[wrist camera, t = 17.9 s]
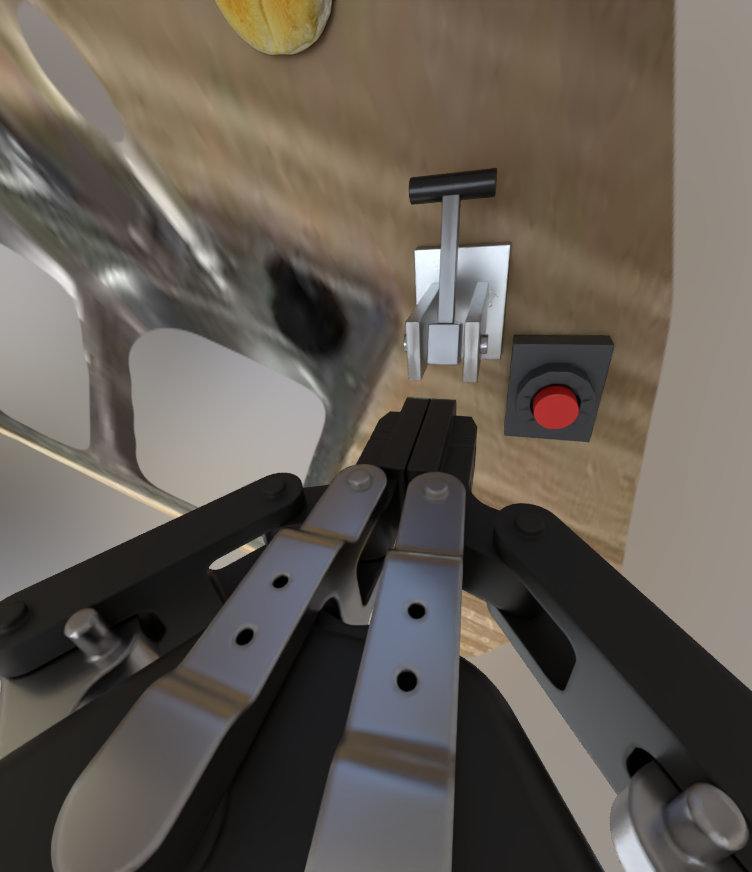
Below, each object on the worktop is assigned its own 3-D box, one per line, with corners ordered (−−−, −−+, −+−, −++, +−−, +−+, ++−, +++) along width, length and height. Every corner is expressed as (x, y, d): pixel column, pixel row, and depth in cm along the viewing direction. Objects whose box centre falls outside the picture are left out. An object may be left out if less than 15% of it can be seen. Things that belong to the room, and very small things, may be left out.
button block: (513, 334, 36) (513, 351, 33) (609, 335, 34) (619, 353, 31) (504, 424, 42) (503, 445, 39) (586, 429, 40) (592, 453, 37)
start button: (535, 383, 35) (536, 393, 33) (580, 385, 34) (582, 395, 32) (530, 417, 37) (531, 427, 35) (572, 420, 36) (574, 431, 34)
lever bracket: (416, 247, 34) (380, 279, 25) (511, 241, 32) (508, 275, 23) (420, 353, 40) (391, 411, 31) (500, 354, 38) (495, 417, 29)
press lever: (415, 183, 27) (407, 171, 25) (497, 174, 25) (496, 161, 23) (411, 359, 31) (404, 363, 28) (483, 361, 29) (481, 365, 27)
